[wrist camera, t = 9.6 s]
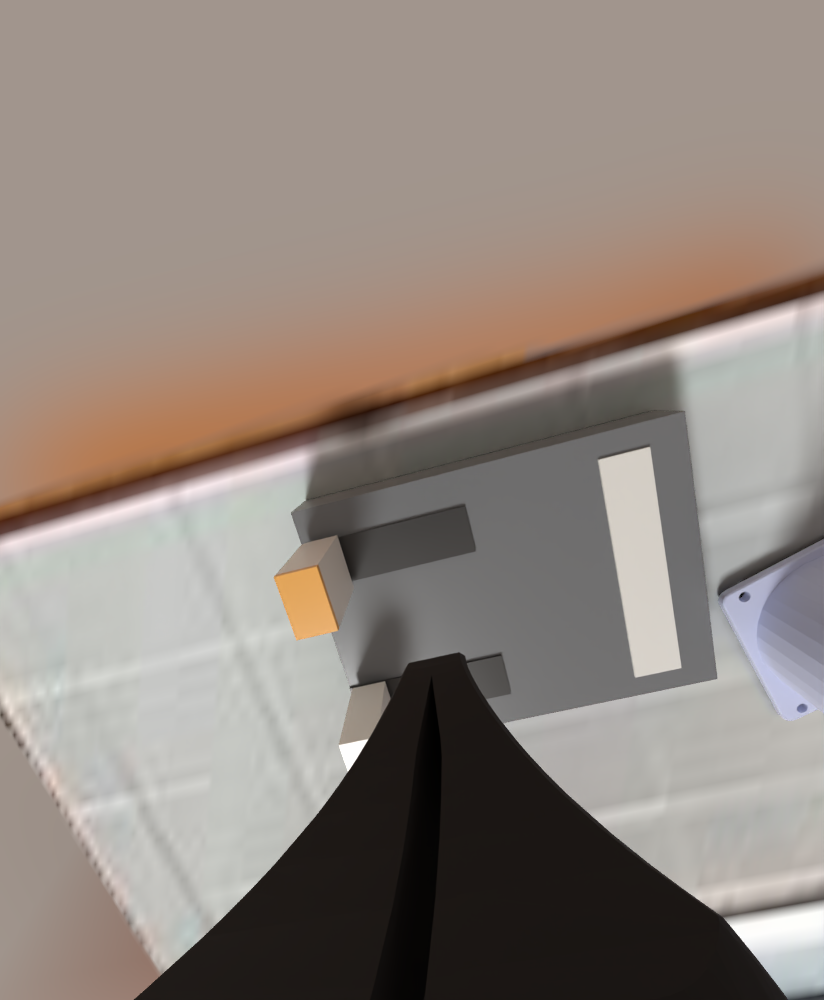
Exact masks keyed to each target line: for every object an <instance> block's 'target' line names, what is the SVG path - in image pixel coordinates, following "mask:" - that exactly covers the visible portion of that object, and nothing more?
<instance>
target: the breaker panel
mask: <svg viewBox="0 0 824 1000" xmlns="http://www.w3.org/2000/svg"><path fill="white" fill-rule="evenodd" d="M291 515H292V518H293V521H294V524H295V527H296V529H297V532H298V535H299V538H300V541H301V544H304V543H308V542H312V541H316V540H320V539H324V538H328V537H332V536H335V535H337V536H338V539H339V542H340V545H341V549H342V552H343V555H344V558H345V561H346V564H347V567H348V571H349V574H350V577H351V580H352V583H353V586H354V589H353V592H352V595H351V598H350V600H349V603H348V606H347V608H346V611H345V614H344V616H343V619H342V622H341V625H340V627H339V630H338V631H335V632H331V633H332V636H333V639H334V642H335V644H336V647H337V650H338V653H339V656H340V659H341V662H342V665H343V668H344V671H345V674H346V677H347V680H348V683H349V686H350V691H351V693H352V689H353V688H356V687H361V686H366V685H370V684H375V683H379V682H384V681H385V683H386V686H387V689H388V692H389V695H390V698H391V697H392V695H393V693H394V691H395V689H396V687H397V685H398V683H399V680H400V678H401V676H402V674H403V672H404V670H405V668H406V666H407V665H408V663H411V662H416V661H420V660H425V659H430V658H434V657H439V656H444V655H448V654H453V653H457V652H460V653H461V654H463V655H465V658H466V661H467V665H468V668H469V670H470V673H471V675H472V677H473V678H474V680H475V682H476V684H477V686H478V687H479V689H480V691H481V692H482V694H483V696H484V697H485V699H486V700H487V702H488V703H489V704H490V706H491V707H492V709H493V710H494V712H495V713H496V715H497V716H498V717H499V719H500V720H501V721H502V723H506V722H510V721H515V720H520V719H525V718H530V717H535V716H539V715H544V714H549V713H554V712H559V711H564V710H569V709H573V708H578V707H583V706H588V705H593V704H598V703H603V702H607V701H612V700H617V699H622V698H627V697H632V696H637V695H641V694H646V693H651V692H656V691H661V690H666V689H670V688H675V687H680V686H685V685H690V684H695V683H700V682H704V681H709V680H714V679H717V671H716V663H715V655H714V647H713V638H712V630H711V622H710V614H709V606H708V597H707V589H706V581H705V573H704V565H703V556H702V548H701V540H700V532H699V524H698V515H697V507H696V499H695V491H694V483H693V474H692V466H691V458H690V450H689V442H688V433H687V425H686V417H685V411H657V410H654V411H650V412H646V413H642V414H638V415H634V416H630V417H627V418H623V419H619V420H615V421H611V422H607V423H603V424H600V425H596V426H592V427H588V428H584V429H580V430H576V431H573V432H569V433H565V434H561V435H557V436H553V437H549V438H546V439H542V440H538V441H534V442H530V443H526V444H522V445H519V446H515V447H511V448H507V449H503V450H499V451H495V452H492V453H488V454H484V455H480V456H476V457H472V458H468V459H465V460H461V461H457V462H453V463H449V464H445V465H441V466H438V467H434V468H430V469H426V470H422V471H418V472H414V473H411V474H407V475H403V476H399V477H395V478H391V479H387V480H384V481H380V482H376V483H372V484H368V485H364V486H360V487H357V488H353V489H349V490H345V491H341V492H337V493H334V494H330V495H326V496H322V497H318V498H314V499H310V500H307V501H304V502H303V503H302V504H301V505H300V506H298V507H297V508H296V509H295V510H294V511H292V512H291Z"/></svg>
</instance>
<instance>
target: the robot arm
mask: <svg viewBox="0 0 824 1000" xmlns="http://www.w3.org/2000/svg"><path fill="white" fill-rule="evenodd" d="M742 592H744V595H743V596H742V597H741V598H739V596H740V594H741V593H742ZM718 601H719V605H720V607H721V608H722V610H723V612H724V614H725V616H726V618H727V620H728V622H729V623H730V625H731V627H732V629H733V631H734V633H735V635H736V637H737V638H738V640H739V642H740V644H741V646H742V648H743V650H744V652H745V653H746V655H747V657H748V659H749V661H750V663H751V665H752V667H753V668H754V670H755V672H756V674H757V676H758V678H759V680H760V682H761V683H762V685H763V687H764V689H765V691H766V693H767V695H768V697H769V698H770V700H771V702H772V704H773V706H774V708H775V710H776V712H777V713H778V714H779V715H780V716H781V717H782V718H783V719H785V720H787V721H792V720H796V719H798V718H800V717H802V716H805V715H807V714H809V713H811V712H813V711H815V710H817V709H819V710H820V711H821V712H822V713H824V539H822V540H820V541H819V542H817V543H815V544H813V545H811V546H809V547H807V548H805V549H803V550H801V551H799V552H798V553H796V554H794V555H792V556H790V557H788V558H786V559H784V560H782V561H780V562H778V563H777V564H775V565H773V566H771V567H769V568H767V569H765V570H763V571H761V572H759V573H757V574H755V575H754V576H752V577H750V578H748V579H746V580H744V581H742V582H740V583H738V584H736V585H734V586H733V587H731V588H729V589H727V590H725V591H724V592H722V593H721V594H720V596H719V599H718ZM798 705H799V706H798ZM134 1000H788V999H787V997H786V996H785V995H784V993H783V992H782V991H781V989H780V988H779V987H778V985H777V984H776V983H775V982H774V980H773V979H772V978H771V976H770V975H769V974H768V972H767V971H766V970H765V969H764V967H763V966H762V965H761V963H760V962H759V961H758V960H757V958H756V957H755V956H754V955H753V953H752V952H751V951H750V950H749V948H748V947H747V946H746V945H745V944H744V942H743V941H742V940H741V939H740V937H739V936H738V935H737V934H736V933H735V931H734V930H733V929H732V928H731V927H730V925H729V924H728V923H727V922H726V921H725V919H724V918H723V917H721V916H720V915H719V914H717V913H716V912H715V911H713V910H712V909H710V908H709V907H707V906H706V905H705V904H703V903H702V902H700V901H699V900H698V899H696V898H695V897H693V896H692V895H691V894H689V893H688V892H686V891H685V890H684V889H682V888H681V887H679V886H678V885H677V884H675V883H674V882H673V881H671V880H670V879H669V878H667V877H666V876H665V875H663V874H662V873H661V872H659V871H658V870H657V869H655V868H654V867H653V866H651V865H650V864H649V863H647V862H646V861H645V860H644V859H642V858H641V857H640V856H639V855H637V854H636V853H635V852H634V851H632V850H631V849H630V848H629V847H627V846H626V845H625V844H624V843H623V842H621V841H620V840H619V839H618V838H616V837H615V836H614V835H613V834H611V833H610V832H609V831H608V830H607V829H606V828H605V827H603V826H602V825H601V824H600V823H599V822H598V821H597V820H596V819H594V818H593V817H592V816H591V815H590V814H589V813H588V812H587V811H585V810H584V809H583V808H582V807H581V806H580V805H579V804H578V803H576V802H575V801H574V800H573V799H572V798H571V797H570V796H569V795H567V794H566V793H565V792H564V791H563V790H562V789H561V788H560V787H559V786H558V785H557V784H556V783H555V782H554V781H553V780H552V779H551V778H550V777H549V776H548V775H547V774H546V773H545V772H544V771H543V770H542V768H541V767H540V766H539V765H538V764H537V763H536V762H535V761H534V760H533V759H532V758H531V757H530V755H529V754H528V753H527V752H526V751H525V750H524V749H523V748H522V746H521V745H520V744H519V743H518V742H517V740H516V739H515V738H514V737H513V735H512V734H511V733H510V732H509V730H508V729H507V728H506V727H505V725H504V724H503V723H502V721H501V720H500V719H499V717H498V716H497V715H496V713H495V712H494V710H493V709H492V707H491V706H490V704H489V703H488V702H487V700H486V699H485V697H484V696H483V694H482V692H481V691H480V689H479V687H478V686H477V684H476V682H475V680H474V678H473V677H472V675H471V673H470V670H469V668H468V665H467V661H466V658H465V655H463V654H461V653H460V652H457V653H453V654H448V655H444V656H439V657H434V658H430V659H425V660H420V661H416V662H411V663H408V665H407V666H406V668H405V670H404V672H403V674H402V676H401V678H400V680H399V683H398V685H397V687H396V689H395V691H394V693H393V695H392V697H391V699H390V701H389V703H388V705H387V707H386V708H385V710H384V712H383V714H382V716H381V718H380V720H379V721H378V723H377V725H376V727H375V729H374V730H373V732H372V734H371V736H370V737H369V739H368V741H367V742H366V744H365V746H364V747H363V749H362V750H361V752H360V754H359V755H358V757H357V759H356V760H355V762H354V763H353V765H352V767H351V768H350V770H349V771H348V773H347V774H346V776H345V777H344V779H343V780H342V781H341V783H340V784H339V786H338V787H337V789H336V790H335V791H334V793H333V794H332V795H331V797H330V798H329V800H328V801H327V802H326V804H325V805H324V806H323V808H322V809H321V810H320V811H319V813H318V814H317V815H316V817H315V818H314V819H313V820H312V821H311V822H310V824H309V825H308V826H307V827H306V828H305V830H304V831H303V832H302V833H301V834H300V835H299V837H298V838H297V839H296V840H295V841H294V842H293V844H292V845H291V846H290V847H289V848H288V850H287V851H286V852H285V853H284V854H283V855H282V857H281V858H280V859H279V860H278V861H277V862H276V863H275V865H274V866H273V867H272V868H271V869H270V870H269V871H268V872H267V873H266V874H265V875H264V876H263V877H262V878H261V880H260V881H259V882H258V883H257V884H256V885H255V886H254V887H253V888H252V889H251V890H250V891H249V892H248V893H247V894H246V895H245V896H244V897H243V898H242V899H241V900H240V901H239V902H238V903H237V904H236V905H235V906H234V907H233V908H232V909H231V910H230V911H229V912H228V913H227V914H226V915H225V916H224V917H223V918H222V919H221V920H220V921H219V922H218V923H217V924H216V925H215V926H214V927H213V928H212V929H211V930H210V931H209V932H208V933H207V934H206V935H205V936H204V937H203V938H202V939H201V940H199V941H198V942H197V943H196V944H195V945H194V946H193V947H192V948H191V949H190V950H188V951H187V952H186V953H185V954H184V955H183V956H182V957H181V958H180V959H179V960H177V961H176V962H175V963H174V964H173V965H172V966H171V967H170V968H169V969H168V970H166V971H165V972H164V973H163V974H162V975H161V976H160V977H159V978H158V979H157V980H155V981H154V982H153V983H152V984H151V985H150V986H149V987H148V988H147V989H145V990H144V991H143V992H142V993H141V994H140V995H139V996H138V997H137V998H135V999H134Z"/></svg>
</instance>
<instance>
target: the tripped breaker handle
mask: <svg viewBox="0 0 824 1000" xmlns="http://www.w3.org/2000/svg"><path fill="white" fill-rule="evenodd" d="M274 579H275V582H276V585H277V587H278V590H279V593H280V596H281V598H282V601H283V604H284V607H285V610H286V612H287V615H288V618H289V621H290V623H291V626H292V629H293V632H294V634H295V637H296V640H300V639H305V638H309V637H313V636H318V635H322V634H326V633H331V632H335V631H338V630H339V627H340V625H341V622H342V619H343V616H344V614H345V611H346V608H347V606H348V603H349V600H350V598H351V595H352V592H353V589H354V586H353V583H352V580H351V577H350V574H349V571H348V567H347V564H346V561H345V558H344V555H343V552H342V549H341V545H340V542H339V539H338V536H337V535H335V536H332V537H328V538H324V539H320V540H316V541H312V542H308V543H304V544H302V545H301V546H300V547H299V548H298V550H297V551H296V552H295V553H294V554H293V555H292V557H291V558H290V559H289V560H288V561H287V562H286V564H285V565H284V566H283V567H282V568H281V569H280V571H279V572H278V573H277V574H276V575H275V576H274Z"/></svg>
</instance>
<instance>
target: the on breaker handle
mask: <svg viewBox="0 0 824 1000" xmlns="http://www.w3.org/2000/svg"><path fill="white" fill-rule="evenodd" d="M390 699H391V698H390V695H389V692H388V689H387V686H386V683H385V681H384V682H379V683H375V684H370V685H366V686H361V687H356V688H353V689H352V693H351V697H350V701H349V705H348V709H347V713H346V718H345V722H344V726H343V730H342V734H341V738H340V742H339V748H340V750H341V753H342V756H343V759H344V762H345V764H346V767H347V770H348V771H349V770H350V768H351V767H352V765H353V763H354V762H355V760H356V759H357V757H358V755H359V754H360V752H361V750H362V749H363V747H364V746H365V744H366V742H367V741H368V739H369V737H370V736H371V734H372V732H373V730H374V729H375V727H376V725H377V723H378V721H379V720H380V718H381V716H382V714H383V712H384V710H385V708H386V707H387V705H388V703H389V701H390Z"/></svg>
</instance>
